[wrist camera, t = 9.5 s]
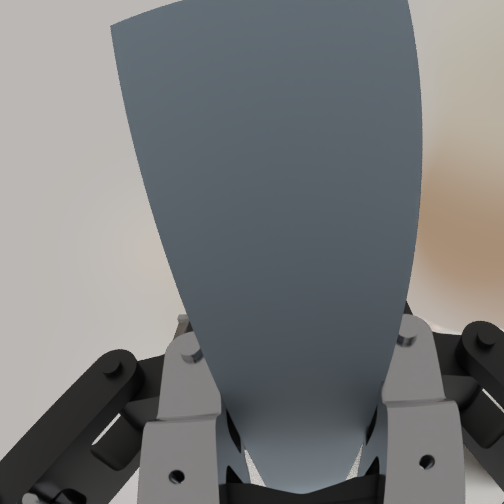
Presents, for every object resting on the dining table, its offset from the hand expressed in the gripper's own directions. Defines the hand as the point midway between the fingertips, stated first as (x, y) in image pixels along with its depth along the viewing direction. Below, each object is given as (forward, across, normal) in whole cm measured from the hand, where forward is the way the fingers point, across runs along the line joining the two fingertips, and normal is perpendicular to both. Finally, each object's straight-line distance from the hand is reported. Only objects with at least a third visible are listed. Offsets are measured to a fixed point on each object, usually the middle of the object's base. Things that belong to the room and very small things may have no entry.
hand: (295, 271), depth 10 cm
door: (0, 0, +9) cm, 9 cm away
